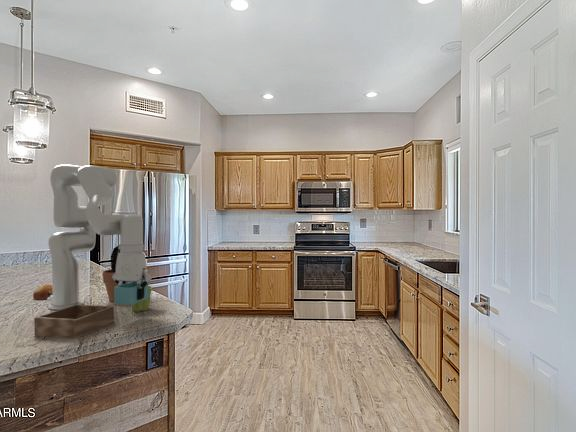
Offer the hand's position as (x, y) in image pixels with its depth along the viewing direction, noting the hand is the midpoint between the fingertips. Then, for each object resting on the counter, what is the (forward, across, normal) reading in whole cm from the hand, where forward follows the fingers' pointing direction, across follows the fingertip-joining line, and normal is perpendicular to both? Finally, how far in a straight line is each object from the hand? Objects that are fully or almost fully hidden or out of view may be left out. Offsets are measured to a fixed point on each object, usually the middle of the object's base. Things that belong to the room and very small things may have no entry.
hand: (131, 297), depth 124 cm
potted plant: (+9, -26, +26) cm, 38 cm away
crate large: (+8, -12, -12) cm, 19 cm away
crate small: (+1, 0, 0) cm, 1 cm away
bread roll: (+10, -65, +24) cm, 70 cm away
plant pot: (+8, -5, +12) cm, 15 cm away
